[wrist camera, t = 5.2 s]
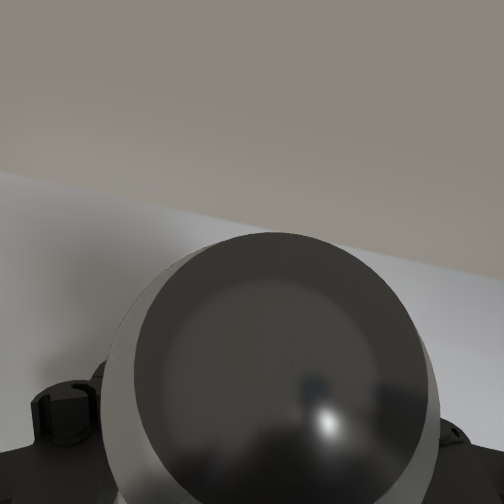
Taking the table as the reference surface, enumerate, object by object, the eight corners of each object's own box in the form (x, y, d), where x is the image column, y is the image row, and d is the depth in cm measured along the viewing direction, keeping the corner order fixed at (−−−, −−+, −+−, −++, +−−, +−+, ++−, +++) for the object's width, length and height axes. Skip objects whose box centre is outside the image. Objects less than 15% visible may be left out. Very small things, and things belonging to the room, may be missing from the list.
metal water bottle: (251, 380, 19) (308, 152, 6) (309, 465, 17) (569, 406, 4) (170, 438, 17) (11, 302, 4) (225, 537, 16) (225, 797, 3)
